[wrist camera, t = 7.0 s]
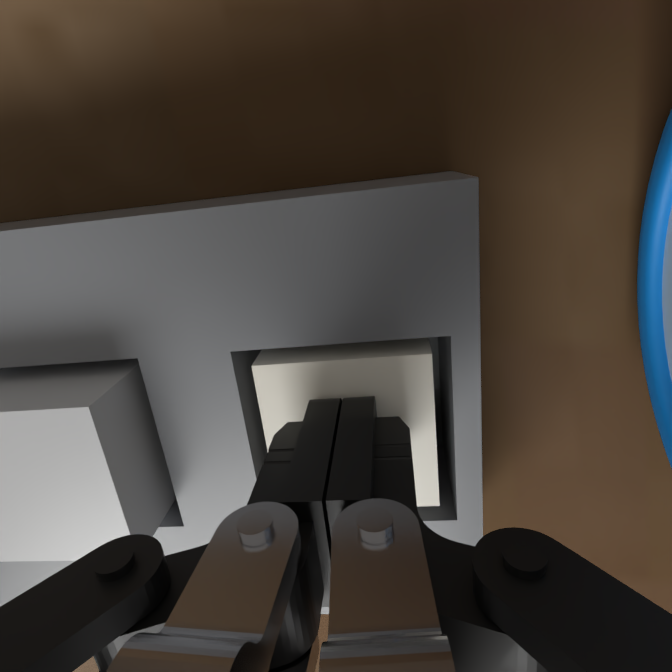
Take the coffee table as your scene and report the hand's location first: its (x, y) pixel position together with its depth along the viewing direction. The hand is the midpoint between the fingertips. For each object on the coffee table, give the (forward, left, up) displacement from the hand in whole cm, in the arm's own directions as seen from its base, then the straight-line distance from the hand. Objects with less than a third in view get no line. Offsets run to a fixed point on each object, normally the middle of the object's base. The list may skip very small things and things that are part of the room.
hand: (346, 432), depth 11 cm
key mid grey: (+7, 0, -1) cm, 7 cm away
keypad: (+7, 0, -4) cm, 8 cm away
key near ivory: (0, 0, -3) cm, 3 cm away
